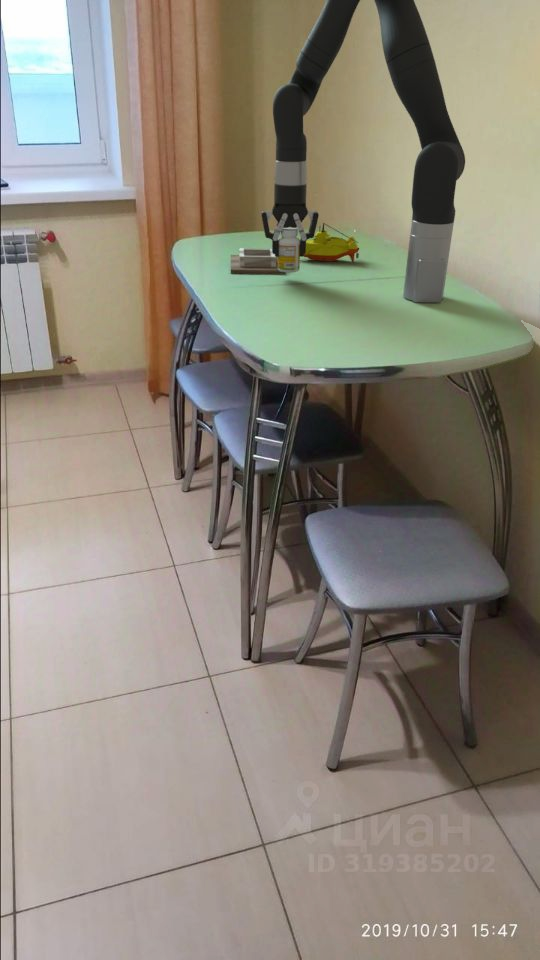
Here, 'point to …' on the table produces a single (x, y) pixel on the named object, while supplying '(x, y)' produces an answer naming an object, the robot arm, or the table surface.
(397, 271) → the table surface
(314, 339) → the table surface
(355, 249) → the toy boat
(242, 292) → the table surface
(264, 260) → the jig board
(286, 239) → the supplement bottle
